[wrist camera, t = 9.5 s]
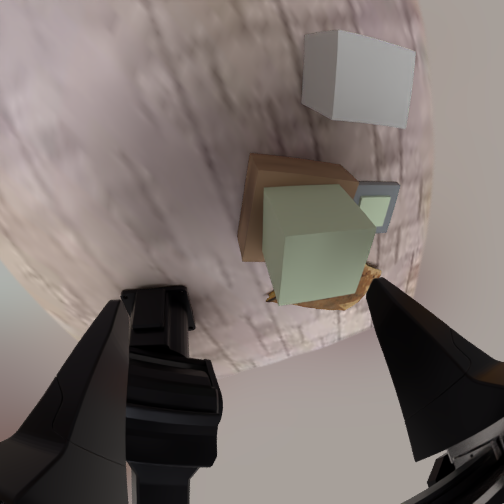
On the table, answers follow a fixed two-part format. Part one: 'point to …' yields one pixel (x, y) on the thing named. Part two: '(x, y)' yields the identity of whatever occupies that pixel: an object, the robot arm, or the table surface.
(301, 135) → the table surface
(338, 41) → the grey cube
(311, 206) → the sage cube
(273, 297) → the shard
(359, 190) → the card
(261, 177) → the walnut block
